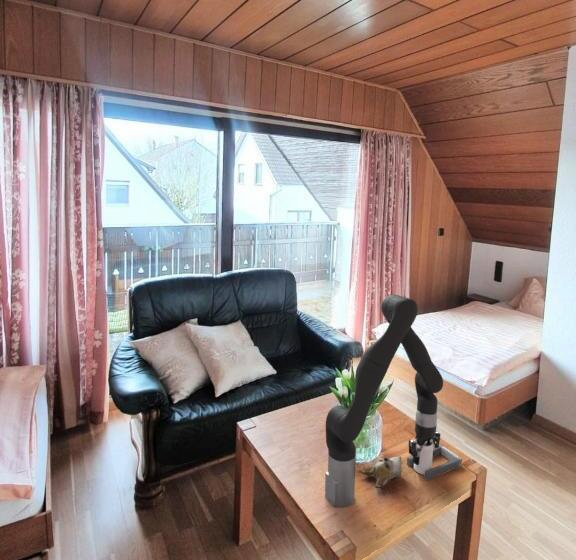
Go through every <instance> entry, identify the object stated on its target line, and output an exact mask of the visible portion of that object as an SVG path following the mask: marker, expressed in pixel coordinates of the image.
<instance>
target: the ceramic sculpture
mask: <svg viewBox="0 0 576 560" xmlns="http://www.w3.org/2000/svg"><path fill="white" fill-rule="evenodd" d="M402 463H403V461H402V456H400V455H399V456H392V457H390V458H389V457H383V459H378V461H376V462H374V464H371V465H368V466H367V467H366V468H365V469H364V470H361V471H360V474H362V475H364V476H373V477H374V478H375V479H376V482H375V486H374V487H375V489H382V488H385V486H387V485H388V483H389V482H390V481H391V480H392V479H393V478H397V479H399V478H400V477H401V476H402Z"/></svg>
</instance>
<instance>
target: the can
mask: <svg viewBox="0 0 576 560" xmlns="http://www.w3.org/2000/svg"><path fill="white" fill-rule="evenodd" d="M417 447H418V448H421V446H420V445H418V444H417ZM416 452H418V450H417V449H416ZM419 456H420V457H419V465H416V464H414V465H413V469H414V471H415V472H416V473H417V474H419V475H424V476H425V471H427V470H429V469H432V468H433V459H434V457H433V444H432V443H431V444H430V443H428V444H426V445H425V446H423V449H422V452H420V455H419ZM432 458H433V459H432Z"/></svg>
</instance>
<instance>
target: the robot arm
mask: <svg viewBox="0 0 576 560" xmlns="http://www.w3.org/2000/svg"><path fill="white" fill-rule="evenodd" d="M380 307H381V308H380V311H381V313H382V316H383V317H384V319H385V320H386V321H387V323H388V326H387V328H386V330H385V332H383V334H382V335H381V336H380V337H379V339H377V340H376V341H374V343H371V345H369V347H368V348H367V349H366V350H365V351H364V353H363V354H362V356H361V359H360V360H359V362H358V365H357V367H356V369H355V378H354V394H353V395H354V396H353V399H352V402H351V405H350V407H349V408H347V407H346V406H344V405H339V404H337V405H335V406H333V407H331V409H330V410H329V411H328V412H327V415H326V419H325V443H326V447H327V450H328V451H327V456H328V457H327V471H326V472H325V479H324V482H325V483H324V484H325V485H324V497H325V498H326V500H327V501H328V502H329V503H330V504H331V505H332V506H333V508H337V507H338V508H345V507H350V506H351V505H352V504H353V503H354V502H355V487H356V485H355V484H356V462H357V461H356V460H357V459H356V458H357V457H356V456H357V450H356V449H357V448H356V444H355V443H354V441H355V440H357V438H358V436H359V435H360V433H361V431H362V429H363V427H364V425H365V422H366V419H367V416H368V413H369V411H370V408H371V405H372V403H373V401H374V399H375V397H376V395H377V393H378V390H379V388H380V386H381V385H382V382H383V380H384V378H385V376H386V375H387V372H388V370H389V367H390V365H391V364H392V361H393V359H394V358H395V355H396V353H397V351H398V349H399V347H400V346H401V345H402V348H403V349H404V351H405V354H406V356H407V358H408V360H409V362H410V365H411V367H412V369H413V370H414V371H416V373H415V376H414V386H415V391H416V398H417V402H416V403H417V404H416V410H415V411H416V412H415V422H414V431H415V437H414V439H411V438H410V439H409V440H408V453H409V455H410V456H413V462H414V464H416V465H419V457H420V456H419V455H420V452H422V449H423V446H425V445H426V444H428V443H430V444H431V443H432V444H433V456H434V451H435V448H438V447H439V445H440V440H441V433H440V432H438V431H437V424H438V397H437V396H436V395H435V394H438V393H439V392H441V391H442V389H443V387H444V379H443V376H442V374H441V373H440V371H439V369H438V368H437V366H436V365H435V364H434V363H433V361H432V358H431V355H430V354H429V351H428V349H427V346H426V345H425V343H424V341H423V340H422V339H421V338H420V336H419V335H418V334H417V333H416V332H415V330H414V329H413V327H412V325H413V324H414V322H415V320H416V318H417V315H418V309H419V307H418V303H417V302H416V301H415V300H414V299H412V298H409V297H406V296H403V295H399V294H390V295H386V297H384V299H383V300H382V302H381V306H380ZM417 444H418V445H420V446H421V448H418V447H417ZM416 449H417V450H418V452H416ZM434 457H435V456H434ZM434 457H433V458H432V460H433V459H434Z"/></svg>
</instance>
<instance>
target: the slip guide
mask: <svg viewBox="0 0 576 560" xmlns="http://www.w3.org/2000/svg"><path fill="white" fill-rule="evenodd" d="M439 455H441V456H443V457H445V458H446V459H448V460H449V461H447V462H444V463H442V464H439V465H437V466H435V467H432V469H429V470H427V471H425V475H424V480H426V481H428V480H431V479H433V478H435V477H439V476H441V475H443V474H445V473H448V472H450V471H452V470H454V469H457V468H459V467H462V463H463V459H462V458H461V456H459V455H457V454H456V453H454V452H453V451H451V450H449V449H448V448H447V447H445V446H444V445H442V444H439V447H438V448H435V451H434V456H433V458H434V457H436V456H439ZM406 465H407V466H408V467H411V466H414V462H413V456H412V455H410V456H408V457H406Z"/></svg>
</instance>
